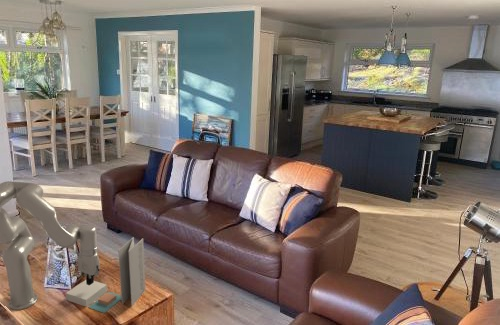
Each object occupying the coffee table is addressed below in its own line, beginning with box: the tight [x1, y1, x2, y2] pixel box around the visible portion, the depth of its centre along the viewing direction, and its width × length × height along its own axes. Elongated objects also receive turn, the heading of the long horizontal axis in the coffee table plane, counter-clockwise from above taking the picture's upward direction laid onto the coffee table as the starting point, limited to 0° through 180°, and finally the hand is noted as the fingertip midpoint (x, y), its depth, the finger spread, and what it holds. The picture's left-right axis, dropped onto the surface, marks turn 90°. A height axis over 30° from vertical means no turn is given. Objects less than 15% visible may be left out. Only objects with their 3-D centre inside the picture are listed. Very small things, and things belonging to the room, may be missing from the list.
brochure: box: [117, 236, 146, 307], centre depth 188 cm, size 14×6×30 cm, turn 168°
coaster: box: [97, 292, 116, 306], centre depth 188 cm, size 6×6×2 cm
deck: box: [65, 279, 108, 308], centre depth 191 cm, size 13×14×4 cm
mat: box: [87, 291, 122, 314], centre depth 187 cm, size 10×14×1 cm
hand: (90, 283), depth 188 cm, fingers closed
